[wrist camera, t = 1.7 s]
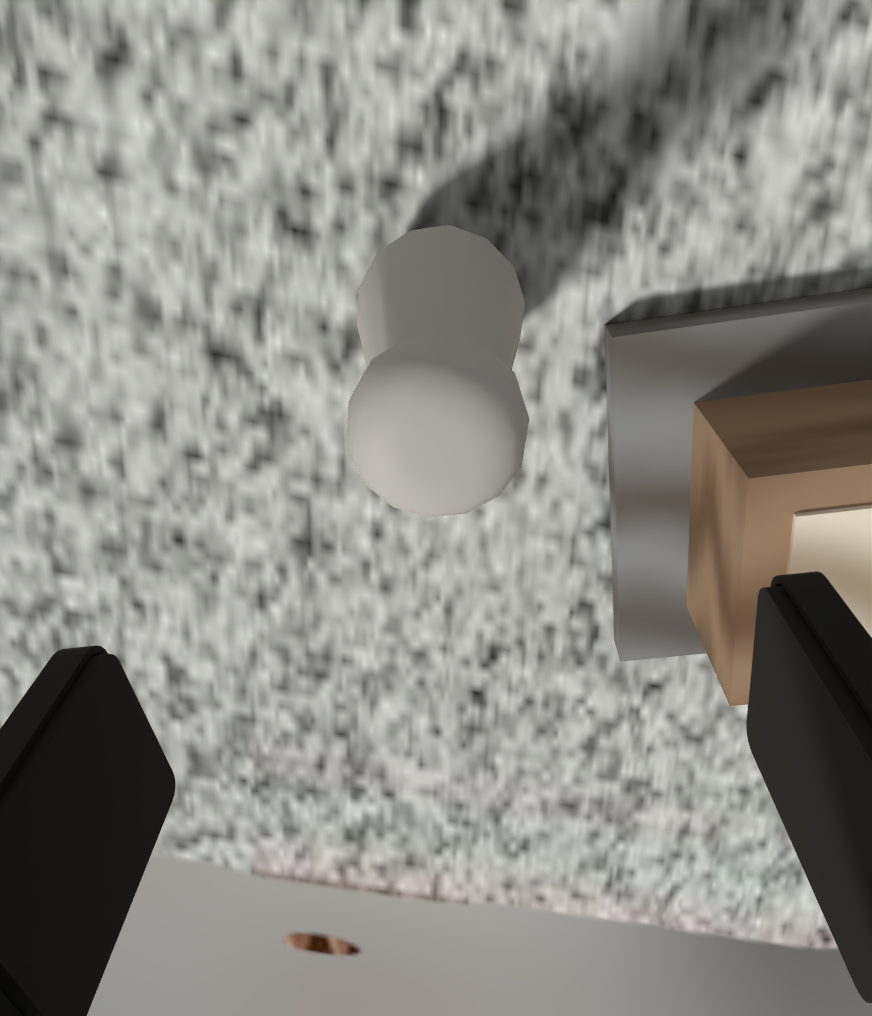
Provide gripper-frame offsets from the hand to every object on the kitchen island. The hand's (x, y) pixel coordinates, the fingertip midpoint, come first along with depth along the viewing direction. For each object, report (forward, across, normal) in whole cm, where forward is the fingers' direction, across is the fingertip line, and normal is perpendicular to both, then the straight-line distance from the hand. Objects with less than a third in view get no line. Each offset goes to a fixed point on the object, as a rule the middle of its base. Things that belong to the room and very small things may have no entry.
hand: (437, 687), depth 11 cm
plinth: (+20, -14, +9) cm, 26 cm away
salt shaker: (+20, 0, -1) cm, 20 cm away
